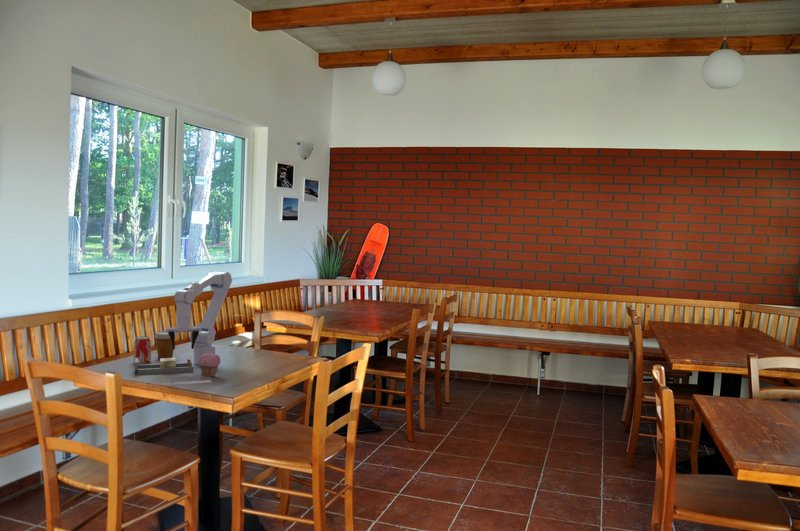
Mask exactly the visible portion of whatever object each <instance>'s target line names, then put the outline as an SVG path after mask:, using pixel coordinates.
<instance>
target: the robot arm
mask: <svg viewBox="0 0 800 531" xmlns="http://www.w3.org/2000/svg"><path fill="white" fill-rule="evenodd" d="M231 274H232V273H230V272H229V271H224V272H223V271H214V270H212V271H211V270H210V271H209V272H208V273H207V274H206V276H205V277H203V278H202V279H201V280H200V281H197V282H196V281H192V282H191V284H190V285H188V286H185V287H184V288H183V289H178V290H177V291H176V292H175V293H174V296H173V299H174V302H175V306H176V327H175V326H174V327H165V331H166V333H168V334H169V336H170V338H171V341H172V345H173V351H174V350H175V349H176V342H175V341H176V337H175V334H176V333H190V334H189V341H190V342H191V345H190V346H191V349H193V364H195V365H199V359H200V357H202V355H203V354H205V353H213V354H216V345H215V344H213V343H214V342H215V338H216V337H215V336H216V334H217V332H216V329H215V328H214V326H215V324H216V320H217V318H218V316H219V313H220V310H221V309H222V307H223V305H224V302H225V299H226V298H227V294H228V292H229V289H230V287H231V285H232V283H233V279H232V275H231ZM207 287H209V288H210V289H211V291H212V292H213V296H212V298H211V299H210V302H209V305H208V307H207V309H206V311H205V313H204V316H203V318H202V320H201V322H200V323H199V324H196V325H195V326H191V323H192V322H191V319H192V317H191V316H192V315H191V314H192V313H191V312H192V311H191V310H192V304H193V302H194V300H195V299H196V297H198V296H199V295H201V294H202V293H203V291H204V289H206V288H207ZM174 332H175V333H174Z"/></svg>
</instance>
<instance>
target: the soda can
mask: <svg viewBox="0 0 800 531" xmlns="http://www.w3.org/2000/svg"><path fill="white" fill-rule="evenodd" d="M135 358H138V365H144V364H150V363H151V362H152V361H151V360H152V341H151V339H150V336H136V337H135V340H134V342H133V363H134V364H135Z"/></svg>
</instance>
